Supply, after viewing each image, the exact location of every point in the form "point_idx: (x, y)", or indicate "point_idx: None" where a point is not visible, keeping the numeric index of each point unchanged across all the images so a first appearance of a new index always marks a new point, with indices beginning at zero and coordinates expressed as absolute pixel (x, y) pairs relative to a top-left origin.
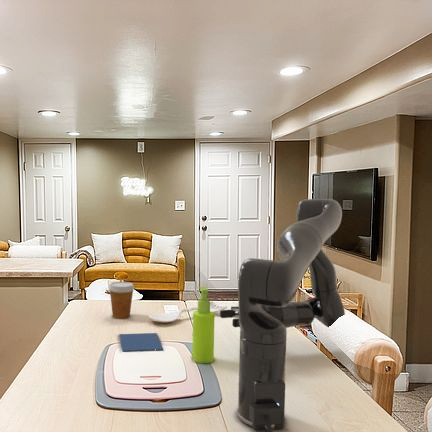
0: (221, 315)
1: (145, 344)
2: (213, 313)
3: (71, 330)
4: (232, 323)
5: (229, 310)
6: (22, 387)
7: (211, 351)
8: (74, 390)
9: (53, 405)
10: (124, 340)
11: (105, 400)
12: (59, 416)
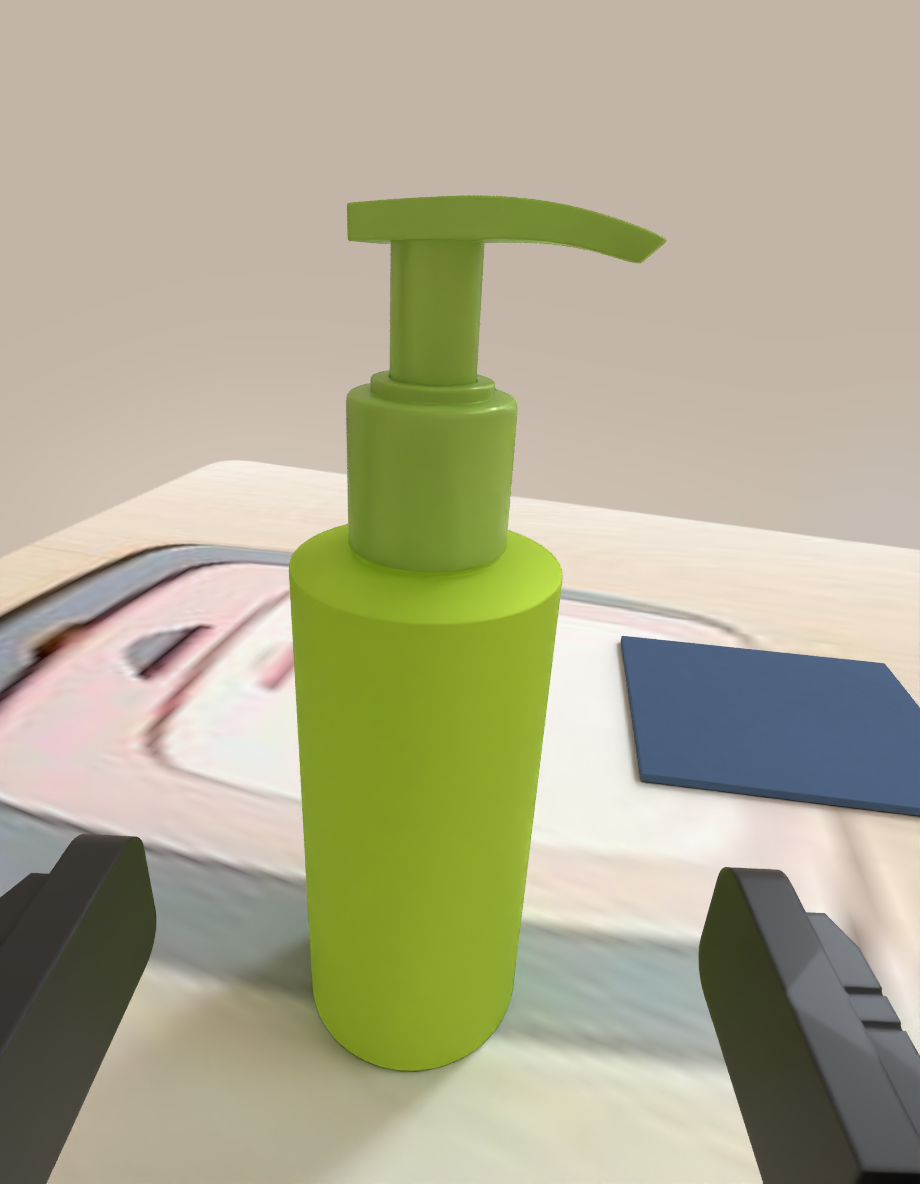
0: (710, 938)
1: (722, 718)
2: (361, 603)
3: (888, 570)
4: (151, 891)
5: (812, 1059)
6: None
7: (313, 935)
8: (303, 528)
9: (243, 503)
10: (776, 661)
11: (190, 555)
12: (178, 504)
